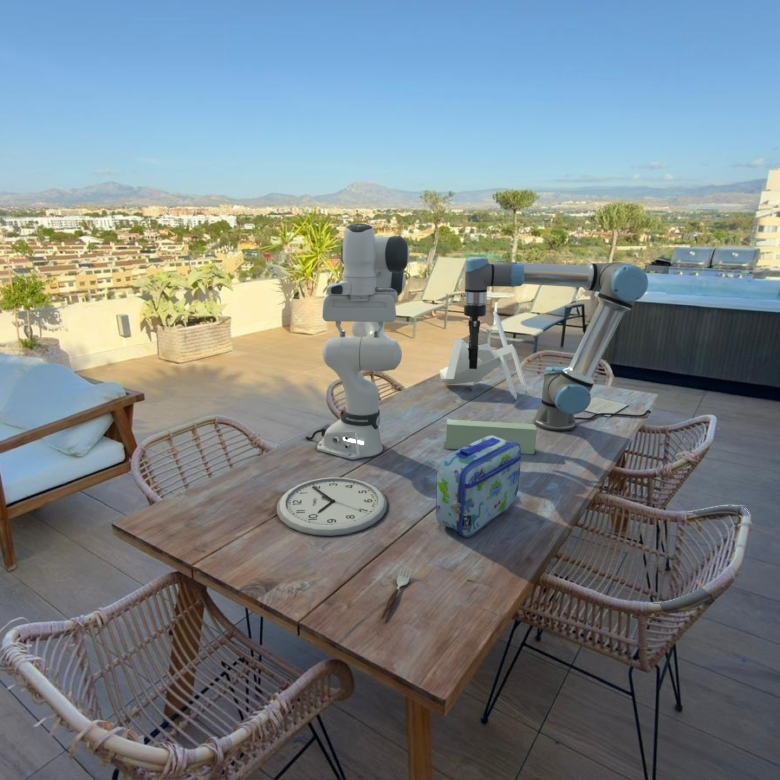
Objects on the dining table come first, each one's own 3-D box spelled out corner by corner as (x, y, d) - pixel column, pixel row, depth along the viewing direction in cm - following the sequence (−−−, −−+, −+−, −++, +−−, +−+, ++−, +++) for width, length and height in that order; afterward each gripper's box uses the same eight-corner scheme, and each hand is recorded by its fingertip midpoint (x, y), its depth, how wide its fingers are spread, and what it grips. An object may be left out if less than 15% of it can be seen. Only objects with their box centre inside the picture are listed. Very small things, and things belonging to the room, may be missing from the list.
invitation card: (608, 416, 214) (573, 407, 224) (608, 416, 214) (573, 408, 224) (628, 404, 229) (594, 396, 238) (628, 405, 229) (594, 397, 238)
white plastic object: (461, 429, 252) (437, 405, 227) (444, 352, 274) (420, 323, 250) (535, 404, 240) (518, 377, 215) (510, 326, 262) (492, 293, 237)
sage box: (532, 448, 182) (534, 424, 180) (534, 454, 178) (536, 429, 175) (445, 442, 186) (447, 419, 183) (445, 448, 181) (446, 424, 178)
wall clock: (392, 527, 129) (268, 531, 127) (391, 533, 130) (269, 537, 127) (383, 473, 158) (282, 475, 155) (383, 478, 158) (282, 480, 156)
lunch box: (462, 546, 125) (467, 466, 119) (428, 528, 132) (432, 452, 126) (521, 508, 143) (529, 437, 136) (489, 494, 150) (494, 425, 144)
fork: (375, 618, 102) (375, 610, 101) (401, 570, 116) (402, 563, 115) (388, 622, 101) (388, 613, 100) (413, 573, 115) (413, 565, 114)
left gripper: (397, 285, 145) (396, 334, 149) (323, 285, 144) (324, 334, 148) (398, 289, 139) (397, 340, 143) (320, 288, 138) (322, 339, 142)
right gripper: (463, 299, 192) (461, 355, 198) (464, 309, 168) (462, 372, 175) (484, 299, 191) (481, 355, 197) (488, 309, 167) (484, 373, 174)
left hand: (359, 337), depth 146 cm, fingers open, 8 cm apart
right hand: (472, 364), depth 186 cm, fingers open, 13 cm apart
